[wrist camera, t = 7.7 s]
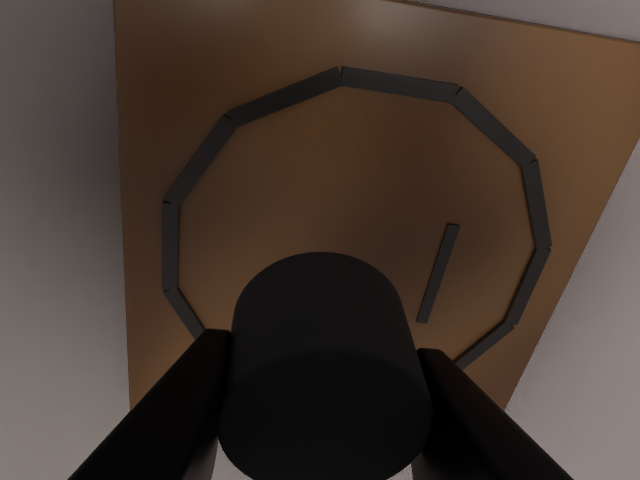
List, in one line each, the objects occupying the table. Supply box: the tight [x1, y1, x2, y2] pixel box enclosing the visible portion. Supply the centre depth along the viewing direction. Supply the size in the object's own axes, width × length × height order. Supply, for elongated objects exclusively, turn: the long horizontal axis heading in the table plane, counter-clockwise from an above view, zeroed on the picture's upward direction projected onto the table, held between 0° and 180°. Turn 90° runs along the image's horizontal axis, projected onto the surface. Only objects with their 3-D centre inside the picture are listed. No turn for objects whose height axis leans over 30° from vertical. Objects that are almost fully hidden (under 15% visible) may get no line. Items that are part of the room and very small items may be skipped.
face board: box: [113, 0, 640, 411], centre depth 17 cm, size 15×16×1 cm
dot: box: [217, 252, 433, 480], centre depth 8 cm, size 3×3×2 cm
